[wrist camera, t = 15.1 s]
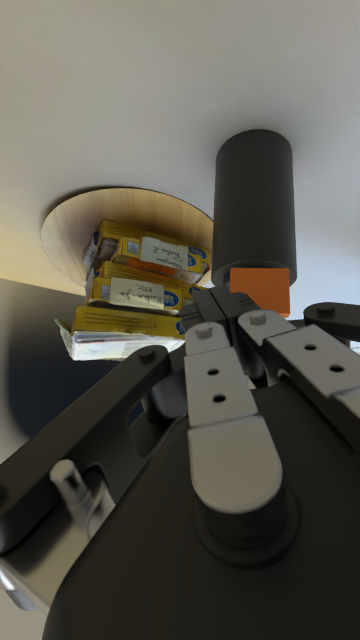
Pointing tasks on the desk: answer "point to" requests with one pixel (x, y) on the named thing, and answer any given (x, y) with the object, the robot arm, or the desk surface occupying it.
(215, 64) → the desk surface
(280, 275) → the plate
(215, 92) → the desk surface
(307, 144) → the desk surface
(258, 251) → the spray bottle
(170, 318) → the stacked packets on board
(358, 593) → the robot arm
